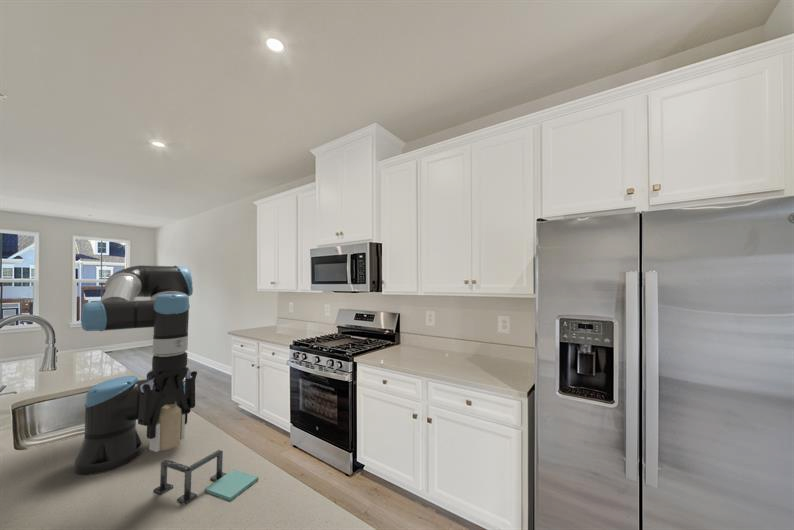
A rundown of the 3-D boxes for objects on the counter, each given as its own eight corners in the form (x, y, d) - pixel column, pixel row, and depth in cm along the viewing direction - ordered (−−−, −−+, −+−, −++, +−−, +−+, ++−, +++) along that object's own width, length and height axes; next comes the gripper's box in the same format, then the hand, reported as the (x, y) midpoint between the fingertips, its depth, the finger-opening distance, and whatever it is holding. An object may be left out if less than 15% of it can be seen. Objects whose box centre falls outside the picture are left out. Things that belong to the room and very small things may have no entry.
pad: (204, 491, 83) (204, 488, 83) (233, 472, 91) (233, 469, 91) (230, 501, 80) (230, 497, 80) (258, 479, 88) (258, 476, 88)
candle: (159, 453, 79) (161, 411, 80) (150, 446, 82) (151, 406, 83) (184, 443, 84) (185, 404, 84) (174, 437, 87) (175, 400, 87)
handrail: (153, 491, 83) (154, 462, 83) (197, 466, 94) (198, 440, 94) (185, 504, 78) (186, 472, 78) (227, 476, 89) (228, 448, 90)
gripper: (139, 363, 74) (135, 466, 73) (212, 347, 91) (210, 431, 90) (120, 360, 77) (116, 459, 76) (194, 345, 94) (192, 426, 93)
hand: (167, 443), depth 83 cm, fingers closed on candle, 5 cm apart
